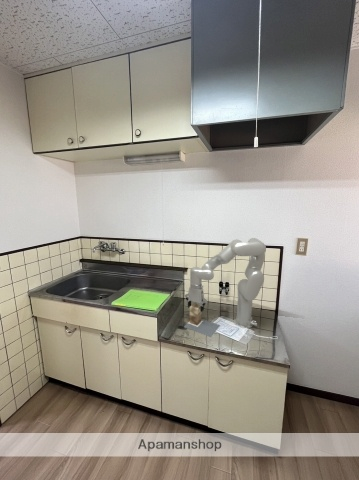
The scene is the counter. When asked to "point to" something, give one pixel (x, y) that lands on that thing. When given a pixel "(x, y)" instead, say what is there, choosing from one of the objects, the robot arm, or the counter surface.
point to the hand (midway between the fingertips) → (195, 308)
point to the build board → (203, 327)
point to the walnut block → (195, 320)
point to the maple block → (195, 310)
